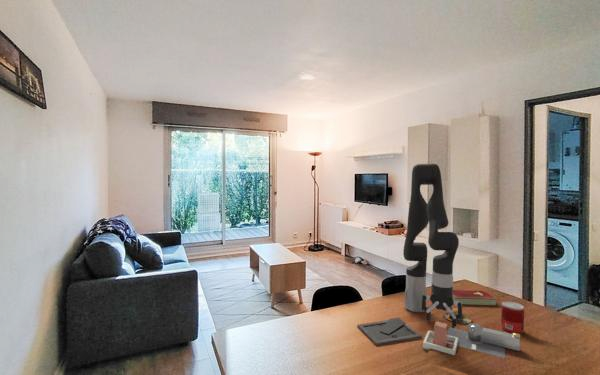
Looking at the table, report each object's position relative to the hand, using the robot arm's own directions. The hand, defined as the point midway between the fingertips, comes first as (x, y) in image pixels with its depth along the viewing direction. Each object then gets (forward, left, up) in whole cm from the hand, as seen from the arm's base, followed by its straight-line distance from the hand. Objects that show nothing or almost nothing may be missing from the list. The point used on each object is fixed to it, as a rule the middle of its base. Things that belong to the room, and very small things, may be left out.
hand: (441, 324), depth 121 cm
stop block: (0, 0, -8) cm, 8 cm away
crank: (+17, +11, -7) cm, 21 cm away
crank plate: (+11, +9, -9) cm, 17 cm away
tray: (0, 0, -9) cm, 9 cm away
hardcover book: (+7, +58, -9) cm, 59 cm away
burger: (+3, +28, -9) cm, 29 cm away
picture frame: (-20, 0, -10) cm, 22 cm away
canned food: (+24, +31, -9) cm, 40 cm away
